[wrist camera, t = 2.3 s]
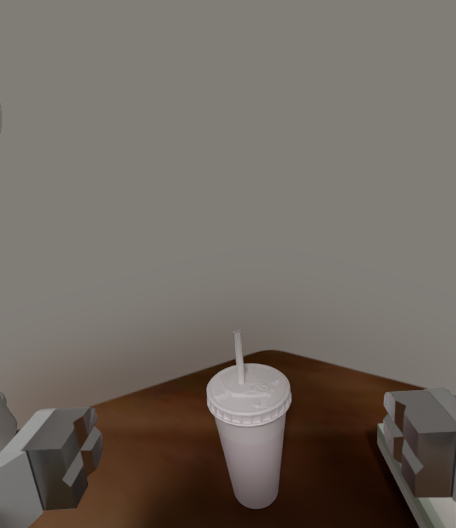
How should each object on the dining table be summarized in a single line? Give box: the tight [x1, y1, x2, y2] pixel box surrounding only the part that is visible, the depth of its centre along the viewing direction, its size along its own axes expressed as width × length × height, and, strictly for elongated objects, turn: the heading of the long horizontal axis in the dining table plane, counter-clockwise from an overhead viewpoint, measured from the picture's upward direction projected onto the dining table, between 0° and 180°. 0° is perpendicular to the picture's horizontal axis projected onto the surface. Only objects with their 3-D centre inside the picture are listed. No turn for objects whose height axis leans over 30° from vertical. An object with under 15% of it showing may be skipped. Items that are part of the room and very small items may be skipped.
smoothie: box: [207, 330, 291, 509], centre depth 26 cm, size 6×6×14 cm
